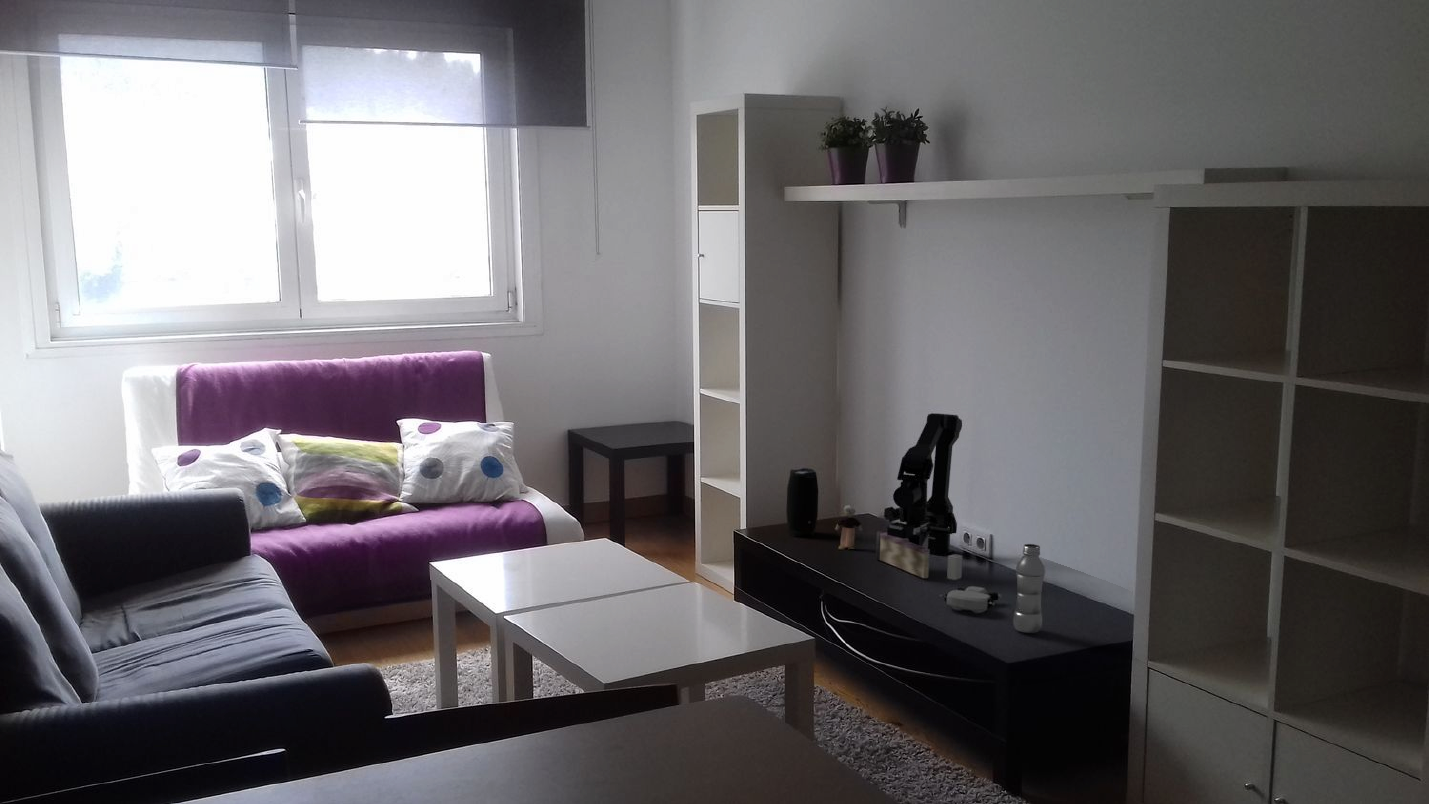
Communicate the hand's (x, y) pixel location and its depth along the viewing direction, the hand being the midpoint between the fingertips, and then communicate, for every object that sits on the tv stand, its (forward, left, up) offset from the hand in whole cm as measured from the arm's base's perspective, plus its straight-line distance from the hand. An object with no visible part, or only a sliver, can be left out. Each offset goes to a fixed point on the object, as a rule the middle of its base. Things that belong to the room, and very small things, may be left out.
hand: (915, 555), depth 325 cm
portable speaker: (-7, -46, -4) cm, 47 cm away
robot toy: (+19, +29, -4) cm, 35 cm away
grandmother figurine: (-4, -26, -4) cm, 26 cm away
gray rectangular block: (0, +12, -4) cm, 13 cm away
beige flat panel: (+3, -2, -3) cm, 5 cm away
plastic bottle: (+26, +48, -4) cm, 55 cm away
